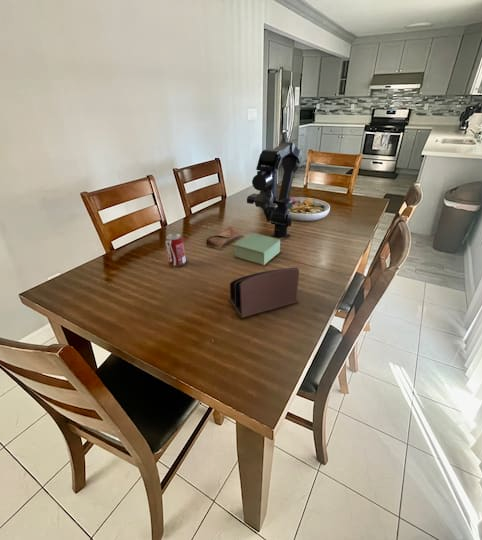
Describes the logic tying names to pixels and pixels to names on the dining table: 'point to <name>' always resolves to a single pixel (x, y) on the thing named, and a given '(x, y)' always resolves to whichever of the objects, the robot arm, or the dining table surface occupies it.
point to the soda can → (175, 250)
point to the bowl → (308, 209)
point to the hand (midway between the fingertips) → (268, 221)
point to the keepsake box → (257, 254)
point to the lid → (257, 243)
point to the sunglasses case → (222, 238)
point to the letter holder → (264, 291)
